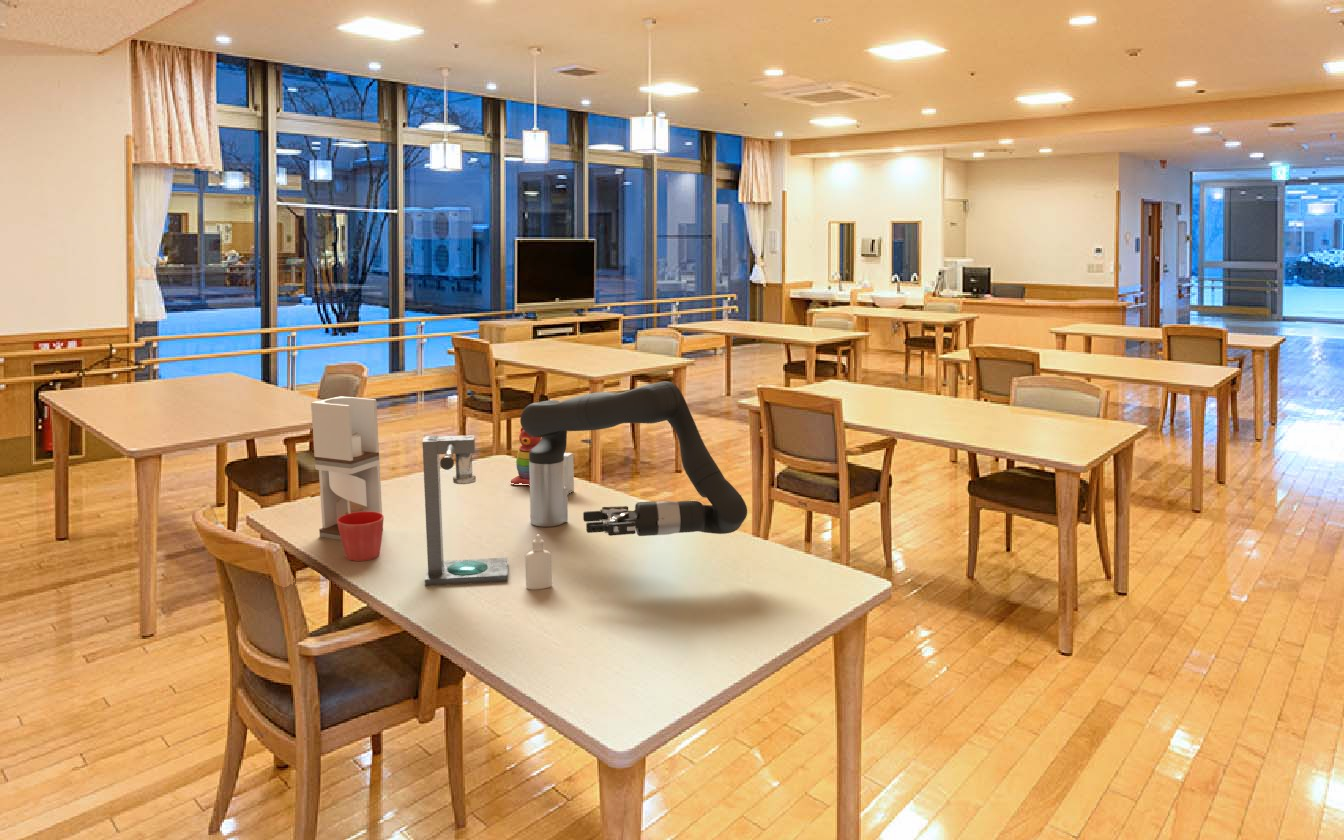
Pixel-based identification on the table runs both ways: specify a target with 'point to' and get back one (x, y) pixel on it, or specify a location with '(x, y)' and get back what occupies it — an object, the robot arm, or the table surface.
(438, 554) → the arbor press
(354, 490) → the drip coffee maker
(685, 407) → the robot arm
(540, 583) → the eye dropper bottle
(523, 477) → the stacking bear
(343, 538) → the flower pot
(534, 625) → the table surface
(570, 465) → the skincare box
